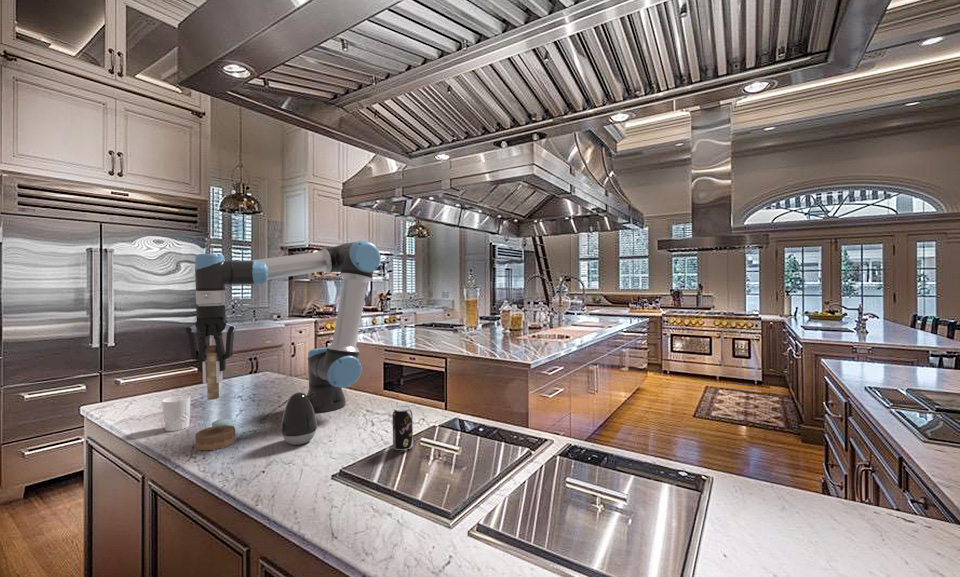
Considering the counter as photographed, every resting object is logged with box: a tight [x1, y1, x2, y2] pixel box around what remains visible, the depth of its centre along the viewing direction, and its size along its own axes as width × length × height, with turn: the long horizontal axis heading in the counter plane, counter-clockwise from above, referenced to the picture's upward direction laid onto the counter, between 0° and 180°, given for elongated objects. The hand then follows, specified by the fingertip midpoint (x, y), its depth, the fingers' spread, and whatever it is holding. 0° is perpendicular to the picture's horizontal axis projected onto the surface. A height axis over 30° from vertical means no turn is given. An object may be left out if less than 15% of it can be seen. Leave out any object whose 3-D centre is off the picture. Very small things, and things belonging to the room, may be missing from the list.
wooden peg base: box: [194, 425, 236, 451], centre depth 131 cm, size 10×10×4 cm
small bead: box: [211, 418, 234, 427], centre depth 141 cm, size 6×6×4 cm
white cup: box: [161, 395, 191, 432], centre depth 146 cm, size 8×8×10 cm
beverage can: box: [391, 405, 414, 451], centre depth 125 cm, size 6×6×12 cm
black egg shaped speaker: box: [280, 391, 318, 446], centre depth 131 cm, size 10×10×15 cm
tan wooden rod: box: [206, 344, 220, 400], centre depth 130 cm, size 3×3×16 cm
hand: (212, 381), depth 130 cm, fingers closed on tan wooden rod, 3 cm apart
